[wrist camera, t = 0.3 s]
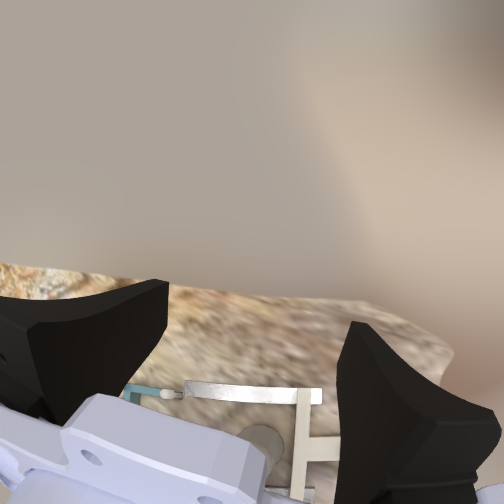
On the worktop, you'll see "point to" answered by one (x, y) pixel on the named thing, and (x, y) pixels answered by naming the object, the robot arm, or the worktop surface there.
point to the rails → (259, 397)
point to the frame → (148, 393)
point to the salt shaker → (265, 443)
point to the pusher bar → (308, 445)
